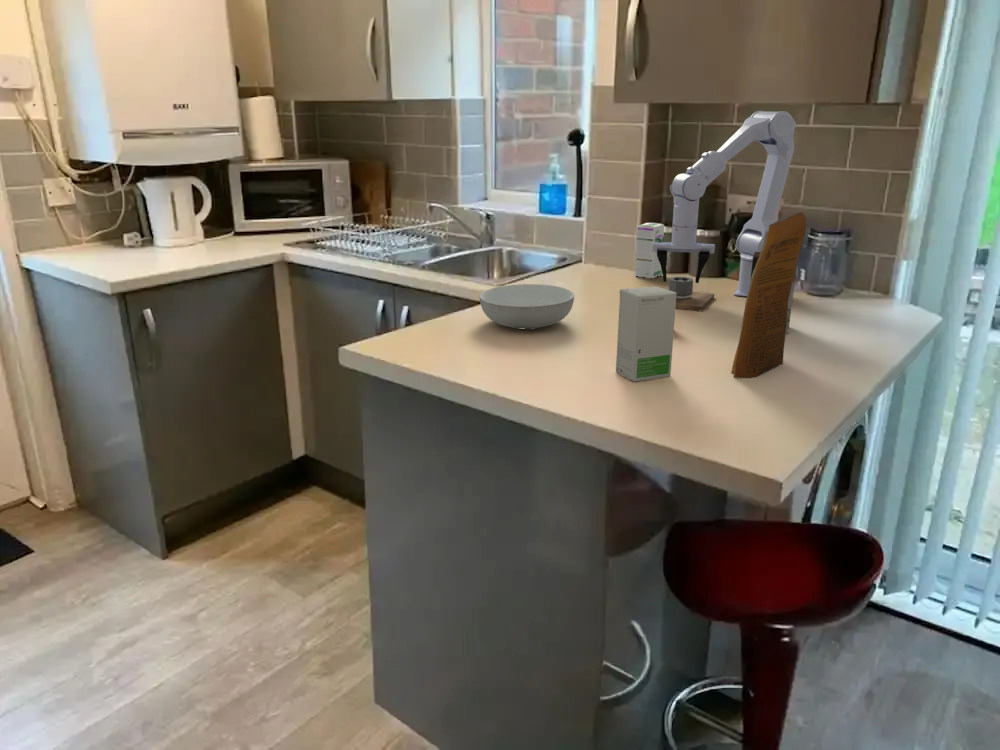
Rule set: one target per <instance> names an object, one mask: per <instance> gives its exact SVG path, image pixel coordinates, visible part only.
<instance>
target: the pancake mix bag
mask: <svg viewBox="0 0 1000 750" xmlns="http://www.w3.org/2000/svg"><path fill="white" fill-rule="evenodd" d="M806 231H807V217H806V215H805V214H804V212H803V211H800V212H797V213H794V214H792V215H790V216H788V217H786V218H784V219H783V220H780V221H777V222H775V223H773V224H771V225H769V230H768V232H766V236H765V240H764V243H763V246H762V249H761V252H760V255H759V258H758V260H757V263H756V265H755V268H754V271H753V274H752V277H751V281H750V286H749V291H748V296H746V301H745V305H744V310H743V316H742V321H741V328H740V329H741V331H740V334H739V340H738V344H737V347H736V350H735V354H734V357H733V362H732V363H733V364H732V368H731V374H733V378H737V379H753V378H758V377H760V376H761V375H763V374H765V373H767V372H770V371H771V370H773V369H775V368H776V367H779V366H781V365H784V355H785V353H784V351H785V342H786V322H787V309H788V300H789V295H790V292H791V286H792V282H793V279H794V276H795V273H796V274H797V270H796V269H798V263H799V257H800V253H801V248H802V246H803V242H804V239H805V235H806Z"/></svg>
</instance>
